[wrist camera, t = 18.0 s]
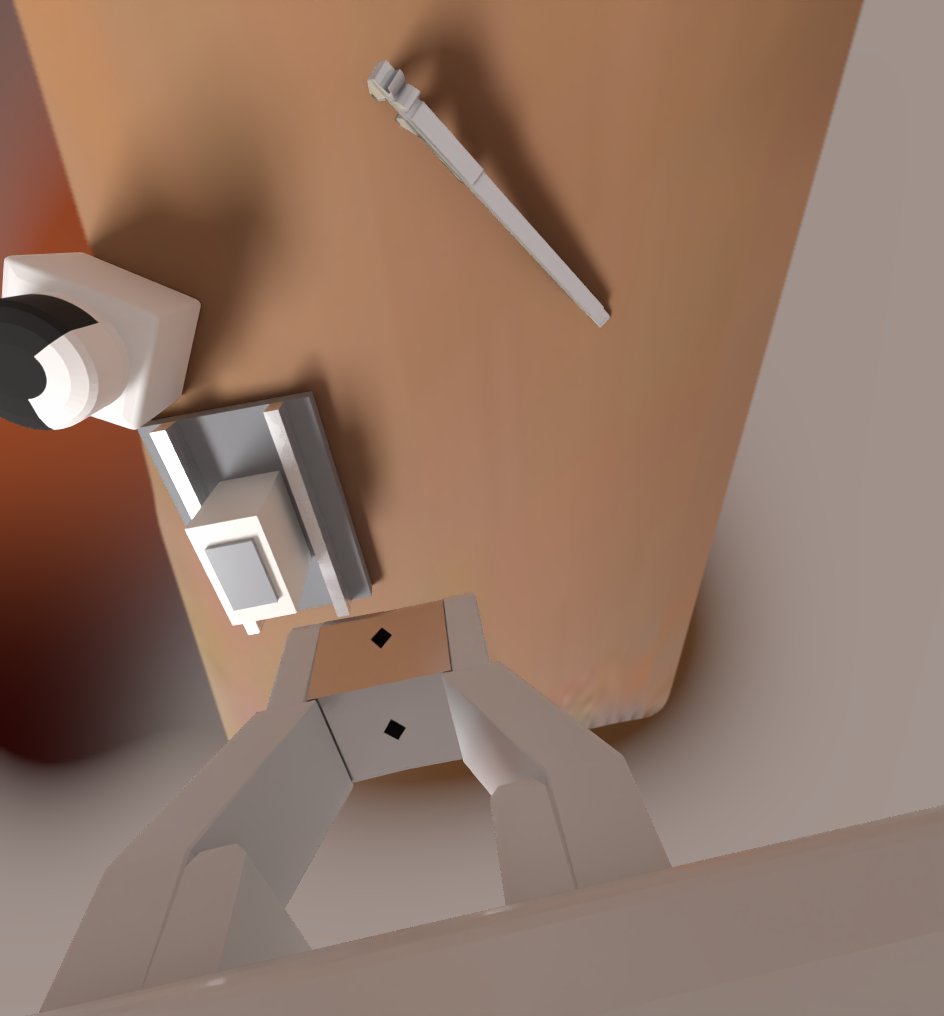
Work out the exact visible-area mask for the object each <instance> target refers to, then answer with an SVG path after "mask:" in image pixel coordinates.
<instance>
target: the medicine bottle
mask: <svg viewBox="0 0 944 1016" xmlns="http://www.w3.org/2000/svg"><path fill="white" fill-rule="evenodd" d="M200 307H201V304H200V302H199V301H198V300H197V299H194V298H192V297H190V296H187V295H185V294H182V293H180V292H178V291H175V290H173V289H170V288H168V287H166V286H163V285H161V284H158V283H156V282H153V281H151V280H149V279H146V278H144V277H141V276H139V275H137V274H134V273H132V272H129V271H127V270H124V269H122V268H120V267H117V266H115V265H112V264H110V263H108V262H105V261H103V260H100V259H98V258H95V257H93V256H91V255H88V254H86V253H82V252H76V253H55V254H34V255H14V256H9V257H6V258H5V260H4V273H3V288H2V298H0V417H2V418H4V419H5V420H8V421H10V422H12V423H15V424H18V425H21V426H24V427H28V428H33V429H39V430H40V429H41V430H56V429H63V428H66V427H70V426H72V425H75V424H76V423H79V422H80V421H82V420H84V419H85V418H87V417H89V416H93V417H96V418H99V419H102V420H105V421H108V422H111V423H114V424H117V425H120V426H123V427H126V428H129V429H138V428H140V427H141V426H143V425H144V424H146V423H147V422H148V421H150V420H151V419H152V418H154V417H155V416H156V415H158V414H159V413H160V412H162V411H163V410H164V409H166V408H167V407H169V406H170V405H171V404H173V403H174V402H175V401H177V400H178V399H179V398H180V397H181V395H182V390H183V386H184V381H185V376H186V372H187V367H188V363H189V358H190V353H191V349H192V344H193V340H194V335H195V330H196V326H197V321H198V317H199V312H200Z"/></svg>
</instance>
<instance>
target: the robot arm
mask: <svg viewBox="0 0 944 1016" xmlns="http://www.w3.org/2000/svg"><path fill="white" fill-rule="evenodd" d="M459 759H463V761H464V763H465V764H466V765H467V766H468V767H469V769H470V770H471V771H472V772H473V774H474V775H475V776H476V777H477V778H478V780H479V781H480V782H481V783H482V784H483V786H484V787H485V788H486V789H487V790H488V792H489V793H490V794H491V795H492V797H491V798H490V803H491V809H492V816H493V823H494V830H495V836H496V843H497V850H498V857H499V864H500V870H501V877H502V883H503V891H504V897H505V904H506V906H501V907H497V908H493V909H488V910H485V911H480V912H475V913H471V914H467V915H462V916H458V917H453V918H449V919H445V920H441V921H437V922H432V923H427V924H423V925H419V926H414V927H410V928H405V929H401V930H397V931H392V932H388V933H384V934H379V935H375V936H371V937H366V938H362V939H358V940H354V941H349V942H345V943H341V944H336V945H332V946H327V947H323V948H319V949H314V950H312V949H311V947H310V946H309V944H308V943H307V941H306V940H305V938H304V937H303V935H302V934H301V932H300V931H299V929H298V928H297V926H296V925H295V923H294V922H293V921H292V919H291V918H290V916H289V915H288V913H287V912H286V910H285V907H286V906H287V904H288V902H289V900H290V899H291V897H292V895H293V893H294V892H295V890H296V888H297V886H298V884H299V883H300V881H301V879H302V877H303V875H304V874H305V872H306V870H307V868H308V866H309V865H310V863H311V861H312V859H313V858H314V856H315V854H316V852H317V850H318V849H319V847H320V845H321V843H322V841H323V840H324V838H325V836H326V834H327V832H328V831H329V829H330V827H331V825H332V824H333V822H334V820H335V818H336V816H337V814H338V813H339V811H340V809H341V807H342V806H343V804H344V802H345V800H346V799H347V797H348V795H349V793H350V791H351V790H352V788H353V784H352V783H353V782H357V781H362V780H366V779H370V778H374V777H377V776H382V775H386V774H390V773H394V772H398V771H402V770H406V769H411V768H416V767H421V766H427V765H432V764H438V763H443V762H448V761H454V760H459ZM28 1016H944V805H941V806H937V807H932V808H928V809H924V810H919V811H915V812H910V813H906V814H902V815H897V816H893V817H889V818H884V819H880V820H876V821H871V822H867V823H863V824H858V825H854V826H849V827H846V828H841V829H836V830H832V831H828V832H824V833H819V834H815V835H811V836H806V837H802V838H797V839H793V840H789V841H785V842H780V843H776V844H771V845H767V846H763V847H759V848H754V849H750V850H745V851H741V852H737V853H732V854H728V855H724V856H719V857H715V858H711V859H706V860H702V861H698V862H694V863H689V864H685V865H680V866H676V867H672V866H671V864H670V862H669V859H668V857H667V855H666V853H665V850H664V848H663V846H662V843H661V841H660V839H659V836H658V834H657V832H656V830H655V827H654V825H653V823H652V820H651V818H650V816H649V814H648V811H647V809H646V807H645V804H644V802H643V800H642V798H641V795H640V793H639V790H638V788H637V786H636V784H635V781H634V779H633V777H632V775H631V772H630V770H629V768H628V766H627V763H626V761H625V759H624V756H623V755H621V754H620V753H619V752H617V751H616V750H615V749H613V748H612V747H611V746H610V745H608V744H607V743H606V742H604V741H603V740H602V739H600V738H599V737H598V736H596V735H595V734H594V733H593V732H591V731H590V730H589V729H587V728H586V727H585V726H583V725H582V724H581V723H580V722H578V721H577V720H576V719H574V718H573V717H572V716H570V715H569V714H568V713H566V712H565V711H564V710H562V709H561V708H560V707H559V706H557V705H556V704H555V703H553V702H552V701H551V700H549V699H548V698H547V697H545V696H544V695H543V694H542V693H540V692H539V691H538V690H536V689H535V688H534V687H532V686H531V685H530V684H528V683H527V682H526V681H524V680H523V679H522V678H521V677H519V676H518V675H517V674H515V673H514V672H513V671H511V670H510V669H509V668H507V667H506V666H505V665H504V664H502V663H501V662H495V663H490V660H489V656H488V651H487V646H486V642H485V637H484V633H483V628H482V623H481V619H480V614H479V610H478V605H477V600H476V596H475V594H474V593H473V592H469V593H465V594H460V595H456V596H452V597H447V598H444V599H443V600H438V601H433V602H428V603H423V604H419V605H414V606H409V607H404V608H399V609H395V610H390V611H383V612H378V613H372V614H367V615H361V616H356V617H350V618H345V619H339V620H333V621H328V622H324V623H319V624H313V625H308V626H303V627H298V628H293V629H292V631H291V632H290V633H289V634H288V636H287V640H286V643H285V647H284V650H283V654H282V657H281V661H280V664H279V668H278V671H277V675H276V679H275V682H274V686H273V689H272V693H271V696H270V700H269V703H268V707H267V710H265V711H261V712H257V713H256V714H255V715H254V716H253V717H252V718H251V719H250V720H249V721H248V722H247V723H246V724H245V725H244V726H243V727H242V728H241V729H240V730H239V731H238V732H237V733H236V734H235V735H234V736H233V737H232V738H231V740H230V741H229V742H228V743H227V744H226V745H225V746H224V747H223V748H222V749H221V750H220V751H219V752H218V753H217V754H216V755H215V756H214V757H213V758H212V759H211V760H210V761H209V762H208V764H207V765H205V767H204V768H203V769H202V770H201V771H200V772H199V773H198V774H197V775H196V776H195V777H194V778H193V779H192V780H191V781H190V782H189V783H188V784H187V785H186V786H185V787H184V789H182V790H181V791H180V792H179V793H178V795H177V796H175V798H174V799H173V800H172V801H171V802H170V803H169V804H168V805H167V806H166V807H165V808H164V809H163V810H162V811H161V812H160V813H159V814H158V815H157V816H156V817H155V818H154V819H153V820H152V821H151V822H150V823H149V824H148V825H147V827H146V828H145V829H144V830H143V831H142V832H141V833H140V834H139V835H138V836H137V837H136V838H135V839H134V840H133V841H132V842H131V843H130V844H129V845H128V846H127V847H126V848H125V849H124V850H123V851H122V852H121V854H119V856H118V857H117V858H116V859H115V860H114V861H113V862H112V863H111V864H110V865H109V866H108V867H107V868H106V870H105V872H104V874H103V876H102V878H101V880H100V883H99V885H98V887H97V889H96V891H95V893H94V896H93V898H92V900H91V902H90V904H89V906H88V909H87V911H86V913H85V915H84V917H83V919H82V922H81V923H80V925H79V928H78V930H77V932H76V934H75V936H74V938H73V941H72V943H71V945H70V947H69V949H68V951H67V953H66V956H65V958H64V960H63V962H62V964H61V966H60V968H59V970H58V973H57V975H56V977H55V979H54V981H53V983H52V985H51V988H50V990H49V992H48V994H47V996H46V999H45V1001H44V1003H43V1005H42V1007H41V1009H40V1011H39V1013H37V1014H33V1015H28Z"/></svg>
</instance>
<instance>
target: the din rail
mask: <svg viewBox="0 0 944 1016" xmlns="http://www.w3.org/2000/svg"><path fill="white" fill-rule="evenodd" d="M263 413H264V416H265V419H266V422H267V424H268V427H269V430H270V433H271V435H272V438H273V441H274V444H275V446H276V449H277V452H278V454H279V457H280V460H281V463H282V465H283V468H284V471H285V474H286V476H287V479H288V482H289V485H290V487H291V490H292V493H293V496H294V498H295V501H296V504H297V507H298V509H299V512H300V515H301V517H302V520H303V523H304V526H305V528H306V531H307V534H308V537H309V539H310V542H311V545H312V548H313V550H314V553H315V556H316V559H317V561H318V564H319V567H320V570H321V572H322V575H323V578H324V580H325V583H326V586H327V589H328V591H329V594H330V597H331V600H332V602H333V605H334V608H335V611H336V613H337V616H338V617H341V616H346V615H350V609H351V601H352V599H351V597H350V594H349V591H348V588H347V585H346V582H345V579H344V576H343V573H342V570H341V567H340V564H339V561H338V558H337V555H336V552H335V549H334V547H333V544H332V541H331V538H330V535H329V532H328V529H327V526H326V523H325V520H324V517H323V514H322V511H321V508H320V505H319V502H318V499H317V497H316V494H315V491H314V488H313V485H312V482H311V479H310V476H309V473H308V470H307V467H306V464H305V461H304V458H303V455H302V452H301V449H300V447H299V444H298V441H297V438H296V435H295V432H294V429H293V426H292V423H291V420H290V417H289V414H288V411H287V408H286V405H285V402H284V401H282V402H277V403H271V404H269V406H268V407H267V408H266V409H265V411H264V412H263ZM150 435H151V437H152V439H153V441H154V443H155V445H156V447H157V449H158V451H159V453H160V455H161V457H162V459H163V461H164V463H165V465H166V468H167V470H168V472H169V474H170V476H171V478H172V480H173V482H174V484H175V486H176V488H177V490H178V492H179V494H180V496H181V498H182V500H183V502H184V504H185V506H186V508H187V510H188V512H189V514H190V517H191V519H192V518H193V517H194V516H195V514H196V513H197V512H198V510H199V509H200V508H201V506H202V505H203V503H204V502H205V501H206V499H207V498H208V497H209V495H210V493H209V491H208V489H207V486H206V484H205V482H204V480H203V478H202V475H201V473H200V471H199V469H198V467H197V464H196V462H195V460H194V458H193V456H192V453H191V451H190V449H189V447H188V445H187V443H186V440H185V438H184V436H183V434H182V432H181V429H180V427H179V425H178V423H177V421H173V422H167V423H162V424H161V425H160V426H158V427H157V428H156V429H155V430H153V431H152V432H151V433H150ZM264 621H265V619H264V620H258V621H253V622H248V623H243V625H244V627H245V629H246V631H247V633H248V635H252V634H257V633H261V630H262V627H263V624H264Z"/></svg>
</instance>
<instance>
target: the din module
mask: <svg viewBox="0 0 944 1016" xmlns="http://www.w3.org/2000/svg"><path fill="white" fill-rule="evenodd" d="M185 531H186V533H187V535H188V537H189V539H190V541H191V543H192V545H193V547H194V549H195V551H196V553H197V555H198V557H199V559H200V561H201V563H202V565H203V567H204V569H205V571H206V573H207V575H208V577H209V579H210V581H211V583H212V585H213V587H214V589H215V591H216V593H217V595H218V597H219V599H220V601H221V603H222V605H223V607H224V609H225V611H226V613H227V615H228V617H229V619H230V621H231V623H232V625H238V624H243V623H248V622H253V621H258V620H264V619H269V618H274V617H279V616H284V615H289V614H294V613H297V610H298V607H299V603H300V599H301V596H302V592H303V588H304V584H305V581H306V577H307V573H308V570H309V566H310V562H311V558H312V557H311V554H310V552H309V549H308V546H307V543H306V541H305V538H304V535H303V532H302V530H301V527H300V524H299V522H298V519H297V516H296V513H295V511H294V508H293V505H292V502H291V500H290V497H289V494H288V492H287V489H286V486H285V483H284V481H283V478H282V475H281V472H280V470H279V471H274V472H269V473H263V474H258V475H252V476H247V477H242V478H236V479H231V480H225V481H220V482H219V483H218V484H217V486H216V487H215V488H214V490H213V491H212V492H211V494H210V495H209V497H208V498H207V499H206V501H205V502H204V503H203V505H202V506H201V508H200V509H199V510H198V512H197V513H196V514H195V516H194V517H193V518H192V520H191V521H190V523H189V524H188V525H187V527H186V528H185Z"/></svg>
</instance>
